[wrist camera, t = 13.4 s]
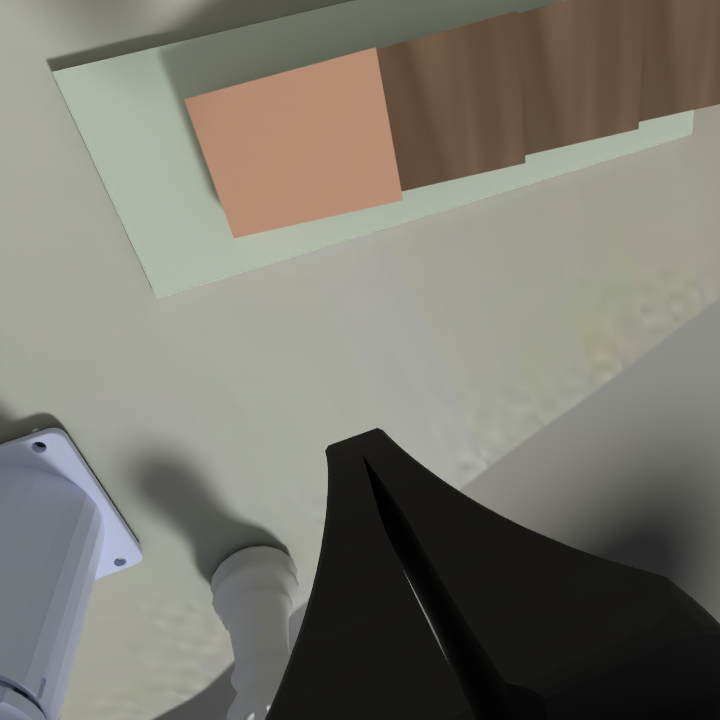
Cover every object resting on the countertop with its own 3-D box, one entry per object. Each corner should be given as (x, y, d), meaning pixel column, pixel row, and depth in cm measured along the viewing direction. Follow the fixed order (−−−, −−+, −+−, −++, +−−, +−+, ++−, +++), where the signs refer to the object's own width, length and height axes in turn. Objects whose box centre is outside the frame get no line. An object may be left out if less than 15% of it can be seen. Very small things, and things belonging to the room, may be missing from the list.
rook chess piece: (216, 610, 26) (219, 783, 20) (204, 551, 25) (202, 719, 18) (298, 591, 28) (328, 748, 21) (292, 532, 26) (323, 683, 19)
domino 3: (581, 134, 19) (755, 95, 18) (581, -2, 17) (777, -56, 16) (571, 131, 20) (733, 94, 19) (569, 3, 18) (752, -47, 17)
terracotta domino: (233, 238, 17) (403, 200, 16) (184, 99, 15) (375, 47, 14) (243, 228, 18) (401, 192, 17) (198, 97, 16) (375, 49, 15)
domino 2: (470, 168, 18) (638, 129, 17) (454, 30, 16) (645, -22, 15) (464, 163, 19) (621, 126, 19) (449, 34, 17) (625, -14, 17)
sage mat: (158, 296, 19) (157, 298, 18) (54, 72, 15) (52, 71, 15) (686, 134, 22) (691, 134, 22) (705, -82, 18) (712, -86, 18)
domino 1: (356, 202, 18) (525, 163, 17) (325, 63, 16) (516, 11, 15) (357, 194, 19) (515, 157, 18) (328, 64, 17) (506, 16, 16)
